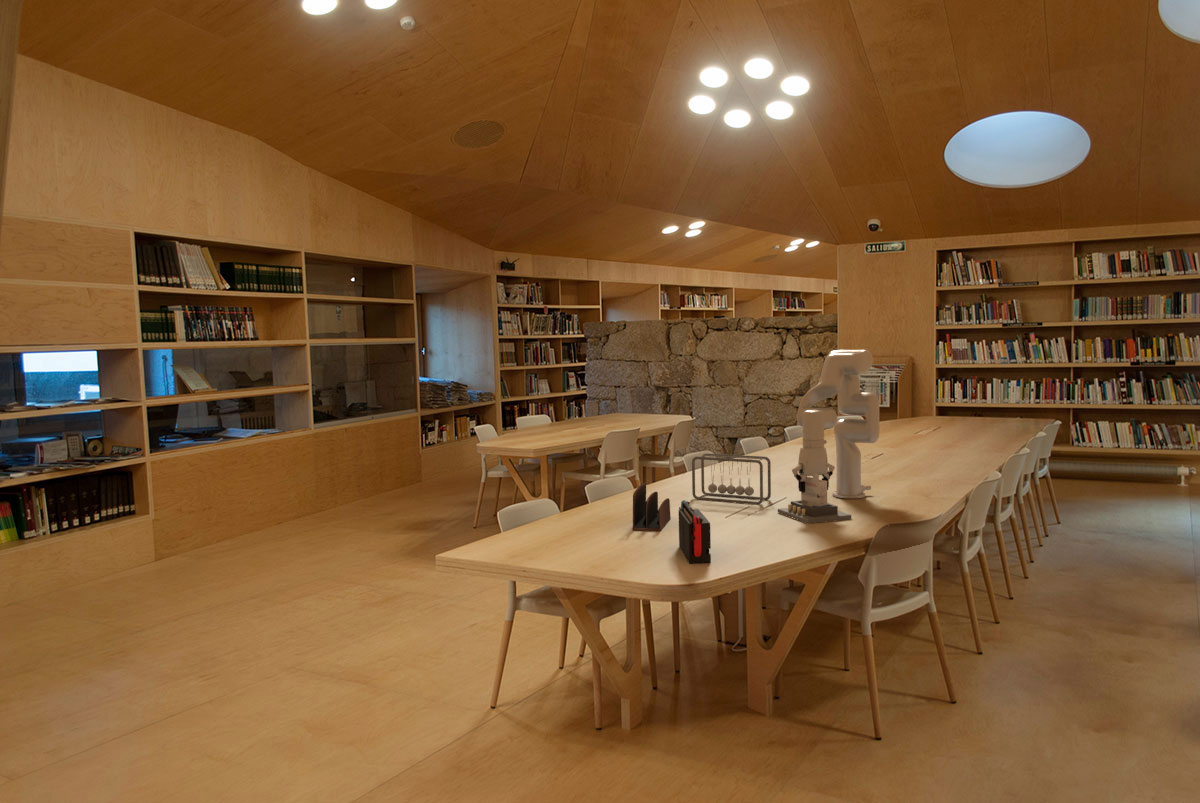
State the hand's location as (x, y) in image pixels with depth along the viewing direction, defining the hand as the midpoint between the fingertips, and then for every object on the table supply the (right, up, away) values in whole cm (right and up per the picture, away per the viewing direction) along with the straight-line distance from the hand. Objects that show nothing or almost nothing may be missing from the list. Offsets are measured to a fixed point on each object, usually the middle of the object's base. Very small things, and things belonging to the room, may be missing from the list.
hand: (813, 490), depth 296 cm
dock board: (0, -9, +1) cm, 9 cm away
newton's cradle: (-25, -8, +34) cm, 42 cm away
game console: (-49, -15, -48) cm, 70 cm away
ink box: (0, -8, +1) cm, 8 cm away
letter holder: (-59, -12, -6) cm, 61 cm away
